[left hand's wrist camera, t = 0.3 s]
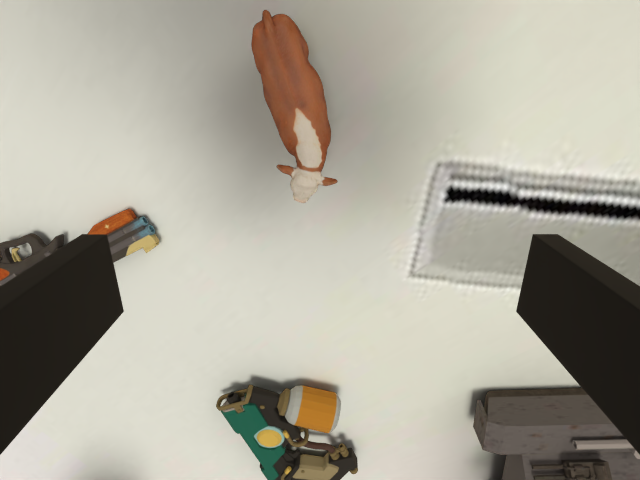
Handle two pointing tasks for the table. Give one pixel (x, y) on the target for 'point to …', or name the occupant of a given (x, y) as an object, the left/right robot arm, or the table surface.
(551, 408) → the toy
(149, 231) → the toy gun
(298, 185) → the bull figurine
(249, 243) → the table surface
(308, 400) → the spray gun
